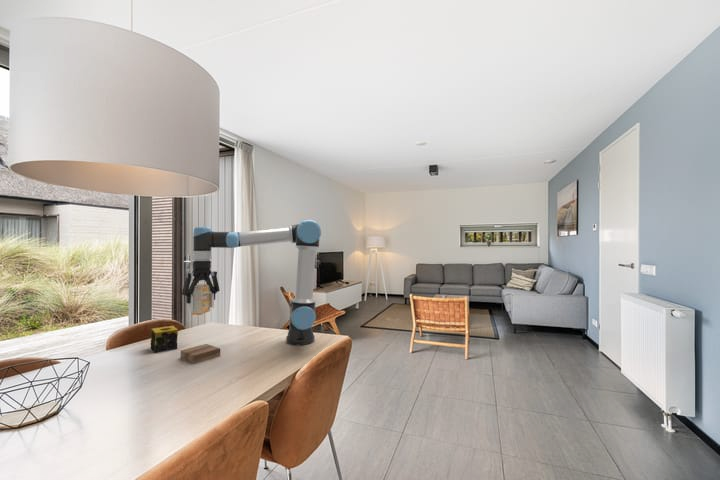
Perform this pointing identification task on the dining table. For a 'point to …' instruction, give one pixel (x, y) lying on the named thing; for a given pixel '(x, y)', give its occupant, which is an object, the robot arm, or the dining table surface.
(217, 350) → the walnut block
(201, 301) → the supplement box
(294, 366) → the dining table surface
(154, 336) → the black and yellow box
